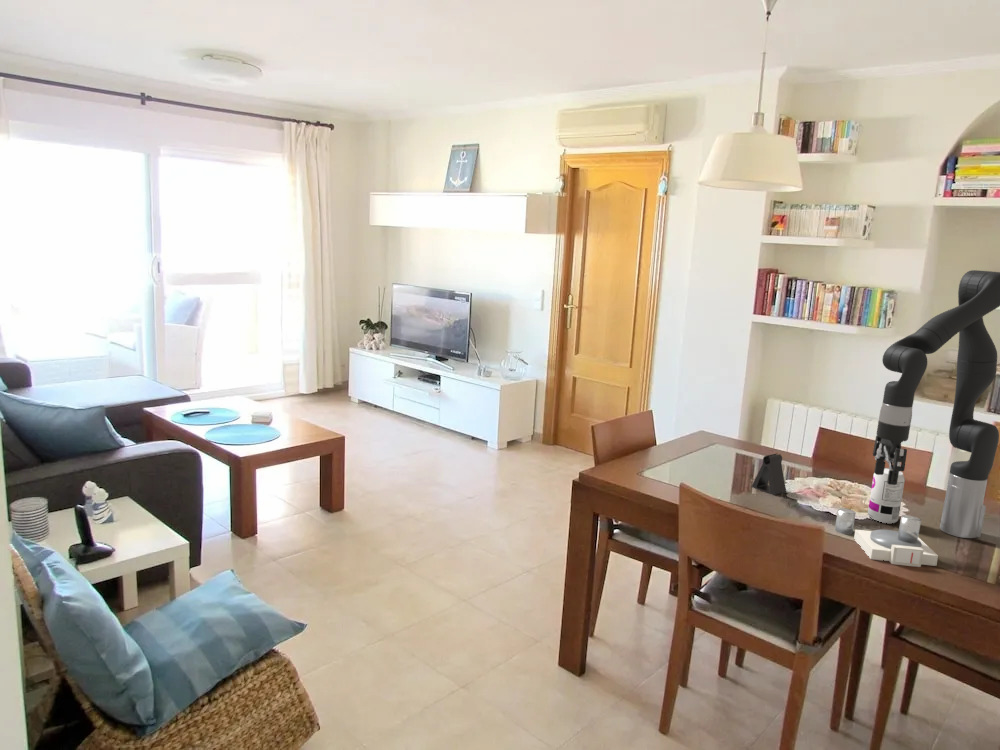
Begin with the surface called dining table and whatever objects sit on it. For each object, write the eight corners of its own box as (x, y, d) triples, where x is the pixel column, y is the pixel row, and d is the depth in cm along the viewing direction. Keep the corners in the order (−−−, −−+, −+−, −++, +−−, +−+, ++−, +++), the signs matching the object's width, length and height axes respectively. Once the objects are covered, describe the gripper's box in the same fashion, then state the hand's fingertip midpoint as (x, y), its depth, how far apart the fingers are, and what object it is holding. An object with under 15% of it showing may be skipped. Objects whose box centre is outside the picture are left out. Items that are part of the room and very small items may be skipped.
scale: (915, 545, 199) (917, 529, 198) (940, 569, 184) (943, 552, 184) (853, 539, 201) (856, 523, 200) (873, 562, 186) (876, 545, 186)
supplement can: (863, 518, 217) (870, 470, 214) (872, 512, 223) (880, 465, 220) (892, 526, 212) (900, 477, 209) (901, 520, 217) (909, 472, 215)
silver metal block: (912, 537, 195) (916, 516, 194) (920, 544, 190) (924, 522, 189) (894, 535, 195) (898, 514, 194) (901, 542, 191) (905, 520, 190)
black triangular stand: (751, 487, 241) (755, 452, 238) (762, 484, 244) (767, 450, 242) (774, 495, 233) (779, 459, 231) (786, 492, 237) (790, 457, 234)
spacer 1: (849, 528, 209) (852, 509, 207) (854, 535, 204) (858, 515, 203) (832, 527, 209) (835, 507, 208) (837, 533, 205) (840, 513, 204)
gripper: (921, 428, 185) (911, 489, 188) (897, 415, 199) (888, 472, 202) (891, 426, 186) (881, 486, 189) (869, 413, 200) (860, 469, 203)
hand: (885, 479), depth 196 cm, fingers open, 8 cm apart
